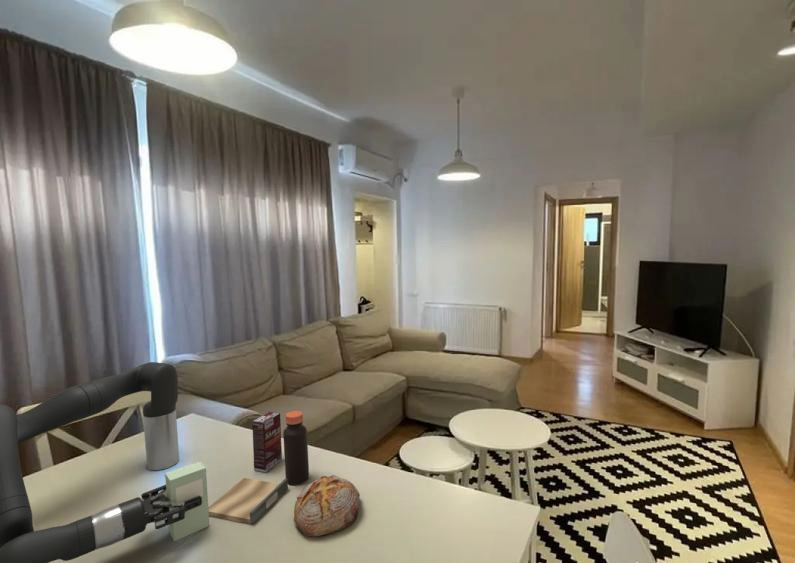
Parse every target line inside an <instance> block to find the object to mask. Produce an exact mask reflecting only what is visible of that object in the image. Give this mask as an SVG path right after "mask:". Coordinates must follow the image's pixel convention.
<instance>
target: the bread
mask: <svg viewBox="0 0 795 563" xmlns="http://www.w3.org/2000/svg"><path fill="white" fill-rule="evenodd" d="M360 505H361V499H360V492H359V490H358V489H357V488H356V486H355V485H354V483H352V482H351V481H350V480H347V479H346V478H342V477H340V476H337V475H335V474H332V475H330V476H324V475H322V476H321V477H319V478H317V479H315V480H314V481H313V482H310V483H309V484H308V485H306V486H305V487H304V488H302V490H301V491H300V493H299V494H298V495H297V496H296V501H295V503H294V508H293V509H294V511H293V515H294V517H293V522H294V524H295V525H296V527H297V528H298V530H300V531H301V532H303V534H304V535H305V536H309V537H321V536H326V535H329V534H332V533H334V532H337V531H339V530H343V529H345V528H346V527H348V526H350V525H352V524H353V523H354V522H355V520H356V518H357V517H358V514H359V511H360V509H361V507H360Z"/></svg>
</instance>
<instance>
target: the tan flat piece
mask: <svg viewBox="0 0 795 563" xmlns="http://www.w3.org/2000/svg"><path fill="white" fill-rule="evenodd" d="M288 490H289V484H288V479H286V478H284V479H283V480H282V481H281V482H280V483H279V482H272V481H264V480H260V479H253V478H247V477H243V478H242V479H241V480H240V481H239V482H237V483H236V484H235V485H233V486H232V487H231V488H230V489H229V490H227V491H226V492H225V493H224V494H223V495H221V497H219V498H218V499H217V500H216V501H214V502H213V503H212V504H210V505H208V509H209V517H214V518H219V519H223V520H227V521H233V522H238V523H244V524H247V525H248V524H249V525H254V524H255V523H256V522H257V521H258V520H260V518H262V516H263V515H264V514H265V513H267V511H269V509H271V507H273V505H274V504H275V503H276V502H277V501H278V500H279V499H280V498H281V497H282V496H283V495H284V494H285V493H286V492H288Z"/></svg>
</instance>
